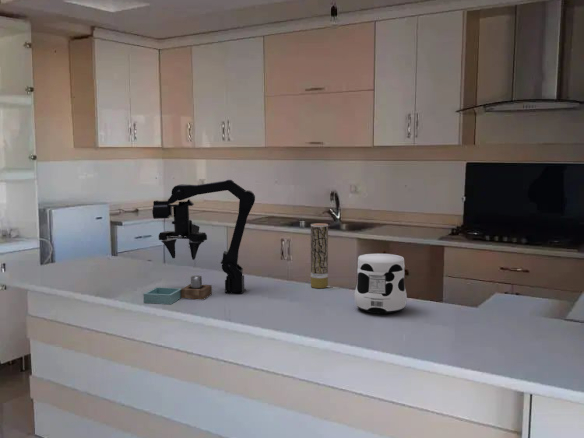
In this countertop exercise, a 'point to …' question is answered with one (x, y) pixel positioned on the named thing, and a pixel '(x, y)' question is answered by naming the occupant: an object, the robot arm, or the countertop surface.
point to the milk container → (380, 283)
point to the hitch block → (196, 292)
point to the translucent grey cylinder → (196, 282)
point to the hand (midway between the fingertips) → (183, 258)
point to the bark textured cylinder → (319, 255)
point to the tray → (162, 295)
